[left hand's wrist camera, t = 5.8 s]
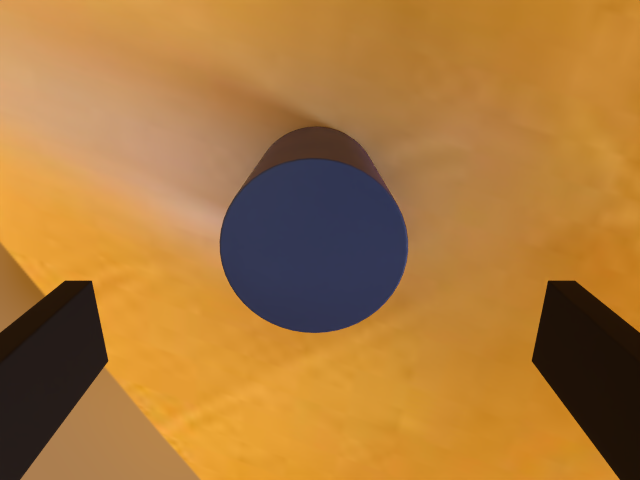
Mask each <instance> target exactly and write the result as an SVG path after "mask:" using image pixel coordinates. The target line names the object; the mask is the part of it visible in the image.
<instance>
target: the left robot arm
mask: <svg viewBox="0 0 640 480" xmlns="http://www.w3.org/2000/svg"><path fill="white" fill-rule="evenodd" d="M107 362H108V357H107V353H106V348H105V343H104V338H103V333H102V328H101V323H100V318H99V314H98V309H97V304H96V299H95V294H94V289H93V284H92V281H64V282H63V283H62V284H60V285H59V286H58V287H57V288H55V289H54V290H53V291H52V292H50V293H49V294H48V295H47V296H46V297H44V298H43V299H42V300H41V301H39V302H38V303H37V304H36V305H34V306H33V307H32V308H31V309H29V310H28V311H27V312H26V313H24V314H23V315H22V316H21V317H19V318H18V319H17V320H16V321H14V322H13V323H12V324H11V325H9V326H8V327H7V328H6V329H4V330H3V331H2V332H1V333H0V480H20V479H21V478H22V476H23V475H24V474H25V472H26V471H27V470H28V468H29V467H30V466H31V464H32V463H33V462H34V460H35V459H36V458H37V456H38V455H39V454H40V452H41V451H42V449H43V448H44V447H45V445H46V444H47V443H48V441H49V440H50V439H51V437H52V436H53V435H54V433H55V432H56V431H57V429H58V428H59V427H60V425H61V424H62V423H63V421H64V420H65V419H66V417H67V416H68V414H69V413H70V412H71V410H72V409H73V408H74V406H75V405H76V404H77V402H78V401H79V400H80V398H81V397H82V396H83V394H84V393H85V392H86V390H87V389H88V388H89V386H90V385H91V384H92V382H93V381H94V380H95V378H96V377H97V376H98V374H99V373H100V371H101V370H102V369H103V367H104V366H105V365H106V363H107ZM532 362H533V363H534V365H535V366H536V367H537V369H538V370H539V371H540V373H541V374H542V376H543V377H544V378H545V380H546V381H547V382H548V384H549V385H550V386H551V388H552V389H553V390H554V392H555V393H556V394H557V396H558V397H559V398H560V400H561V401H562V402H563V404H564V405H565V406H566V408H567V409H568V410H569V412H570V413H571V415H572V416H573V417H574V419H575V420H576V421H577V423H578V424H579V425H580V427H581V428H582V429H583V431H584V432H585V433H586V435H587V436H588V437H589V439H590V440H591V441H592V443H593V444H594V445H595V447H596V448H597V449H598V451H599V452H600V454H601V455H602V456H603V458H604V459H605V460H606V462H607V463H608V464H609V466H610V467H611V468H612V470H613V471H614V472H615V474H616V475H617V476H618V478H619V479H620V480H640V333H639V332H638V331H637V330H636V329H634V328H633V327H632V326H631V325H629V324H628V323H627V322H626V321H624V320H623V319H622V318H621V317H619V316H618V315H617V314H616V313H614V312H613V311H612V310H611V309H609V308H608V307H607V306H606V305H604V304H603V303H602V302H601V301H599V300H598V299H597V298H596V297H594V296H593V295H592V294H591V293H590V292H588V291H587V290H586V289H585V288H583V287H582V286H581V285H580V284H578V283H577V282H576V281H548V284H547V289H546V294H545V299H544V304H543V309H542V314H541V318H540V323H539V328H538V333H537V338H536V343H535V348H534V353H533V357H532Z"/></svg>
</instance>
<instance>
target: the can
mask: <svg viewBox="0 0 640 480" xmlns="http://www.w3.org/2000/svg"><path fill="white" fill-rule="evenodd" d="M220 255H221V261H222V266H223V269H224V272H225V275H226V277H227V279H228V281H229V283H230V285H231V287H232V289H233V290H234V292H235V293H236V295H237V296H238V297H239V298H240V299H241V301H242V302H243V303H244V304H245V305H246V306H247V307H248V308H249V309H250V310H252V311H253V312H254V313H256V314H257V315H258V316H260V317H261V318H263V319H265V320H267V321H268V322H270V323H272V324H275V325H277V326H280V327H282V328H286V329H289V330H293V331H299V332H309V333H320V332H330V331H335V330H340V329H343V328H346V327H349V326H352V325H354V324H356V323H359V322H360V321H362V320H364V319H366V318H367V317H369V316H370V315H372V314H373V313H374V312H376V311H377V310H378V309H379V308H380V307H381V306H382V305H383V304H384V303H385V302H386V301H387V300H388V299H389V298H390V296H391V295H392V294H393V292H394V291H395V289H396V287H397V286H398V284H399V282H400V280H401V277H402V275H403V273H404V269H405V266H406V262H407V255H408V237H407V230H406V226H405V222H404V219H403V216H402V214H401V212H400V209H399V207H398V205H397V203H396V202H395V200H394V198H393V197H392V195H391V193H390V192H389V190H388V188H387V186H386V185H385V183H384V181H383V180H382V178H381V176H380V175H379V173H378V171H377V169H376V168H375V166H374V164H373V163H372V161H371V159H370V158H369V156H368V154H367V153H366V151H365V150H364V149H363V148H362V147H361V145H359V144H358V143H357V142H356V141H355V140H354V139H352V138H351V137H349V136H348V135H346V134H344V133H342V132H340V131H337V130H334V129H331V128H325V127H306V128H302V129H298V130H295V131H292V132H290V133H288V134H286V135H284V136H283V137H281V138H280V139H279V140H277V141H276V142H275V143H274V144H273V145H272V146H271V147H270V148H269V149H268V151H267V152H266V153H265V155H264V156H263V157H262V159H261V160H260V162H259V163H258V165H257V166H256V168H255V169H254V170H253V172H252V173H251V175H250V176H249V178H248V179H247V180H246V182H245V183H244V185H243V186H242V188H241V189H240V190H239V192H238V193H237V195H236V196H235V198H234V199H233V201H232V203H231V204H230V206H229V208H228V210H227V212H226V215H225V217H224V220H223V224H222V228H221V234H220Z"/></svg>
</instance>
